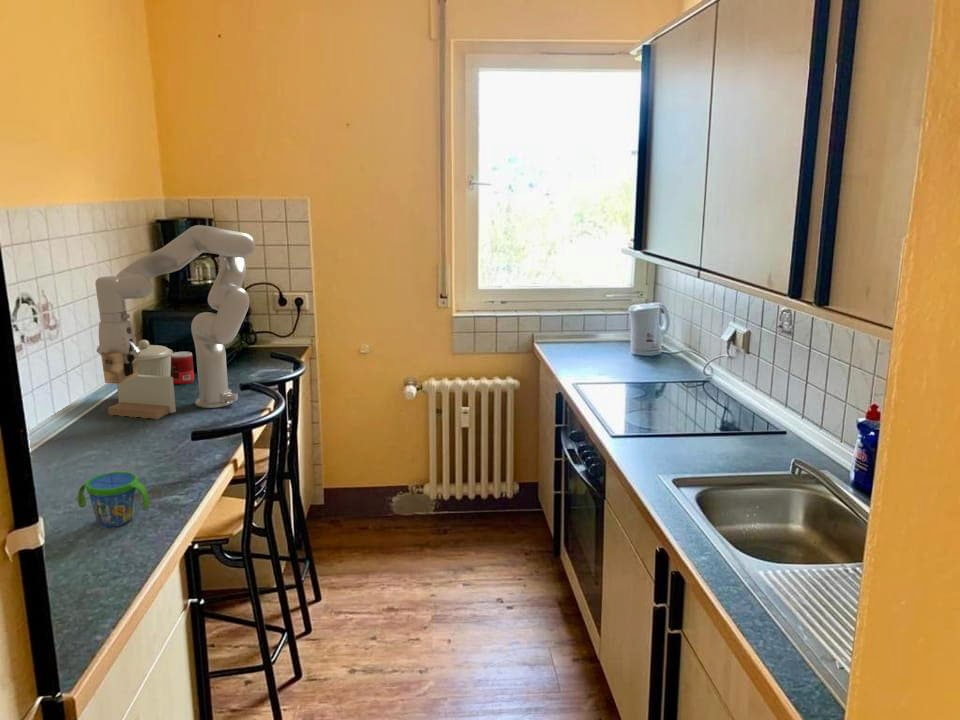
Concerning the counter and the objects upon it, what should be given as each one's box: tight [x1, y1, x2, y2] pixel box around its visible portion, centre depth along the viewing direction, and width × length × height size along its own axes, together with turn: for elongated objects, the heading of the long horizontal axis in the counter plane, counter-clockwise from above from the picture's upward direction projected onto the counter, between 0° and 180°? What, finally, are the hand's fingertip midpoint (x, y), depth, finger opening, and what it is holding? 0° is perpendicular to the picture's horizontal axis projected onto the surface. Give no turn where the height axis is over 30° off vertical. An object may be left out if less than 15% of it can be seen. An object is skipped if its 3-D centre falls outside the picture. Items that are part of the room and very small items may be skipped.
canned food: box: [171, 351, 195, 385], centre depth 287 cm, size 8×8×11 cm
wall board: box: [107, 374, 177, 420], centre depth 250 cm, size 20×8×12 cm, turn 77°
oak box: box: [100, 351, 138, 385], centre depth 236 cm, size 5×10×9 cm, turn 167°
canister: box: [136, 339, 174, 377], centre depth 265 cm, size 18×18×21 cm
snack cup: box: [77, 471, 150, 528], centre depth 174 cm, size 16×10×10 cm
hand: (121, 373), depth 237 cm, fingers closed on oak box, 5 cm apart
